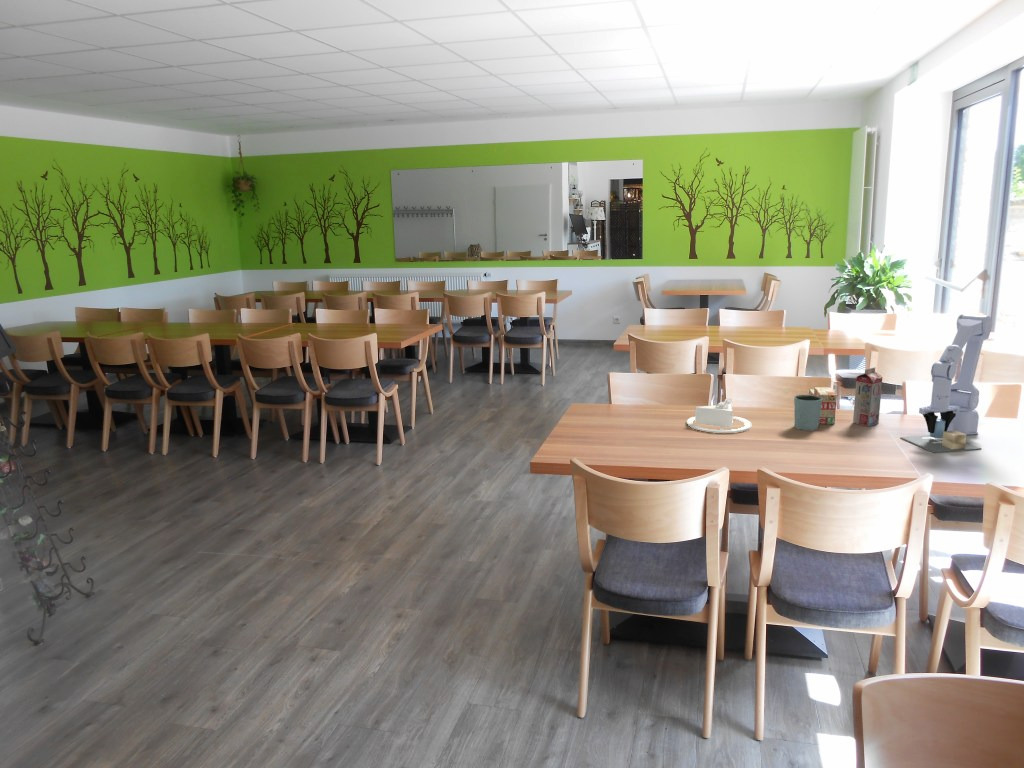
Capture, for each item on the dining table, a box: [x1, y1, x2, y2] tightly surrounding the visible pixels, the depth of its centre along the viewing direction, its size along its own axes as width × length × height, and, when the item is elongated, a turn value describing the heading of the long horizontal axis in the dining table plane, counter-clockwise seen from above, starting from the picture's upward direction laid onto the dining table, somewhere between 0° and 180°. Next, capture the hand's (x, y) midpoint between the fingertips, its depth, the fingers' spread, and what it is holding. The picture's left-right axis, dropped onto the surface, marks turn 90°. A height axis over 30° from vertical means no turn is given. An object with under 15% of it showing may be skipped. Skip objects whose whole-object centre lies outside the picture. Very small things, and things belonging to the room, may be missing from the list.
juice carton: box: [852, 367, 883, 427], centre depth 295 cm, size 7×7×22 cm
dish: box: [686, 397, 753, 434], centre depth 299 cm, size 25×25×11 cm
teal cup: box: [793, 394, 822, 431], centre depth 293 cm, size 10×10×12 cm
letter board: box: [900, 434, 982, 454], centre depth 270 cm, size 18×18×1 cm
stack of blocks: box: [808, 386, 838, 425], centre depth 307 cm, size 21×6×12 cm, turn 169°
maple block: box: [942, 431, 967, 449], centre depth 264 cm, size 5×5×5 cm
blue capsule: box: [929, 418, 945, 438], centre depth 272 cm, size 4×4×6 cm
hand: (937, 432), depth 273 cm, fingers closed on blue capsule, 4 cm apart
